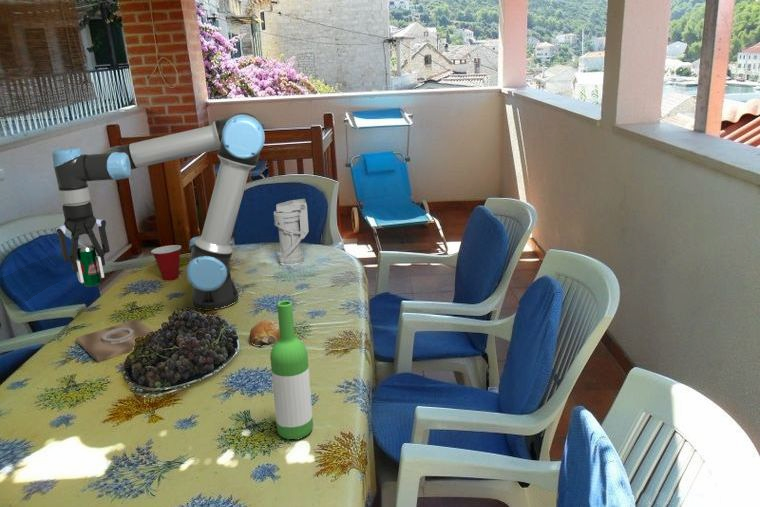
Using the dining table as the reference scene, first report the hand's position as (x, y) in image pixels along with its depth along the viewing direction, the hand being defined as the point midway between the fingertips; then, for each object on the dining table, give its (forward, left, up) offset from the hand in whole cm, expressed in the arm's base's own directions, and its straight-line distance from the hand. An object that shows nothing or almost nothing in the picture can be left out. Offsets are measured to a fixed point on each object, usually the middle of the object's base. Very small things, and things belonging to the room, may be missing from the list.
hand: (91, 278), depth 179 cm
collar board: (-1, +13, -17) cm, 21 cm away
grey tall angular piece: (-79, -9, -17) cm, 81 cm away
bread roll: (-31, +44, -17) cm, 57 cm away
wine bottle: (-11, +87, -17) cm, 89 cm away
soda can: (0, 0, -2) cm, 2 cm away
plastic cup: (-36, -29, -17) cm, 49 cm away
